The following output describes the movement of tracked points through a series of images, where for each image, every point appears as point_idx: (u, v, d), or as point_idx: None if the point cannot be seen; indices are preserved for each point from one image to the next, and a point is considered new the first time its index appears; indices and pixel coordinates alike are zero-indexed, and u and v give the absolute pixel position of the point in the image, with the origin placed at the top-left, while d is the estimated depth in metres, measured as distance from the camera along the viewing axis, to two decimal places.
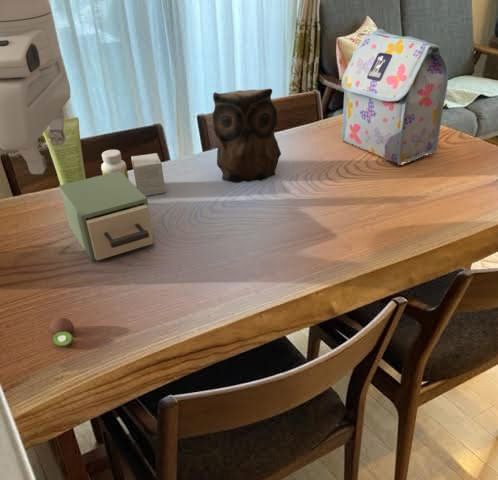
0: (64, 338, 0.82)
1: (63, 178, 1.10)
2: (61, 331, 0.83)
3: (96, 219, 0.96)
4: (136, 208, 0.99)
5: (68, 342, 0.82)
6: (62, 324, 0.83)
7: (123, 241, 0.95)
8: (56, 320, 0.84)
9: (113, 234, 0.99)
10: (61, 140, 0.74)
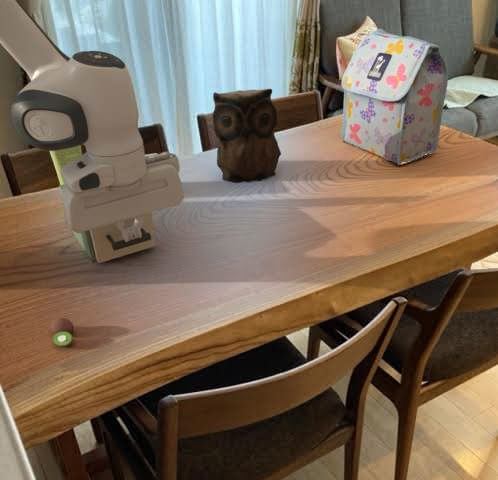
0: (64, 338, 0.82)
1: None
2: (61, 331, 0.83)
3: None
4: None
5: (68, 342, 0.82)
6: (62, 324, 0.83)
7: (125, 244, 0.94)
8: (56, 320, 0.84)
9: (115, 236, 0.98)
10: (134, 236, 0.94)
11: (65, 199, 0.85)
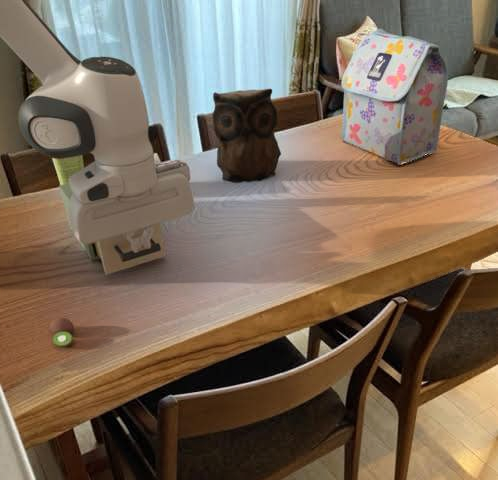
0: (64, 338, 0.82)
1: (63, 178, 1.10)
2: (61, 332, 0.83)
3: None
4: None
5: (68, 342, 0.82)
6: (62, 324, 0.83)
7: (134, 255, 0.92)
8: (56, 320, 0.84)
9: (123, 247, 0.95)
10: (143, 247, 0.91)
11: (73, 210, 0.82)
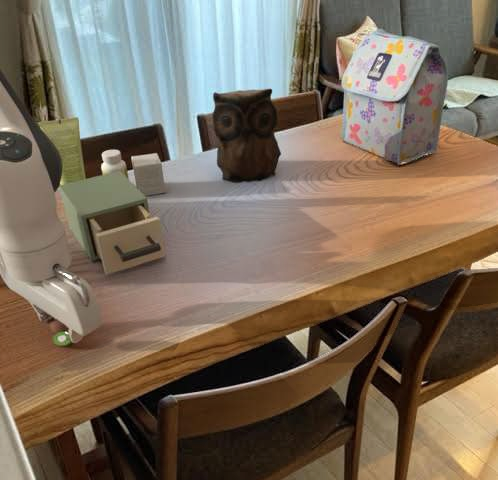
0: (65, 338, 0.82)
1: (63, 178, 1.10)
2: (61, 332, 0.83)
3: (106, 232, 0.92)
4: (147, 220, 0.95)
5: (68, 342, 0.82)
6: (62, 324, 0.83)
7: (134, 255, 0.92)
8: (56, 320, 0.84)
9: (123, 247, 0.95)
10: (68, 337, 0.81)
11: None
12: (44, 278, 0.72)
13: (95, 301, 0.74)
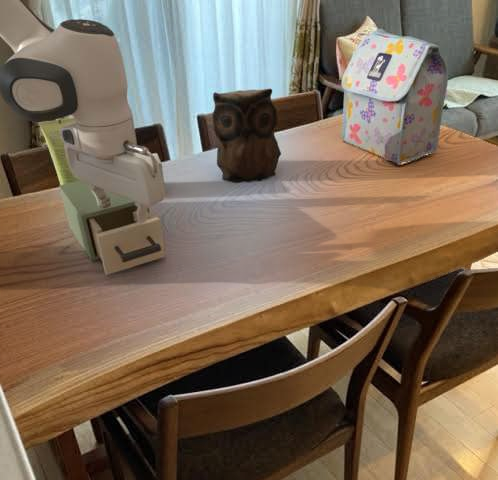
0: None
1: (63, 178, 1.10)
2: None
3: (106, 233, 0.92)
4: (147, 220, 0.95)
5: None
6: None
7: (134, 256, 0.92)
8: None
9: (124, 247, 0.95)
10: (135, 218, 0.92)
11: None
12: (116, 153, 0.84)
13: (160, 174, 0.85)
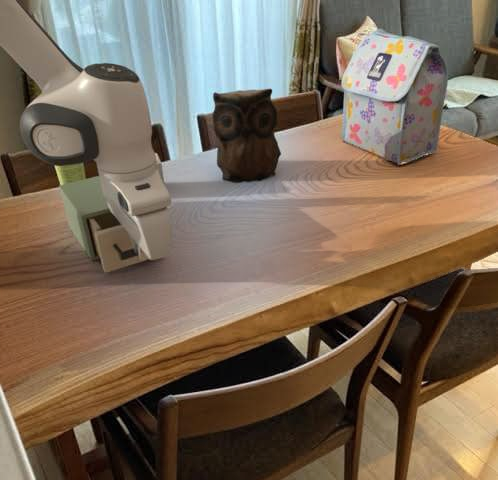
0: None
1: (63, 178, 1.10)
2: None
3: (105, 231, 0.93)
4: None
5: None
6: None
7: (132, 254, 0.92)
8: None
9: (122, 245, 0.95)
10: None
11: (158, 225, 0.79)
12: None
13: None
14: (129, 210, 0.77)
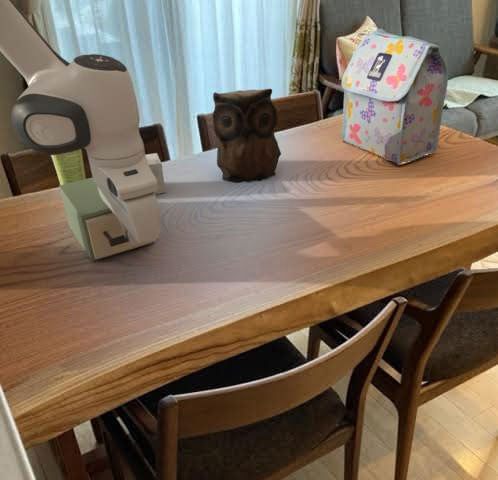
0: None
1: (63, 178, 1.10)
2: None
3: (95, 218, 0.96)
4: None
5: None
6: None
7: (122, 240, 0.96)
8: None
9: (112, 233, 0.99)
10: None
11: (145, 209, 0.82)
12: None
13: None
14: (118, 195, 0.80)
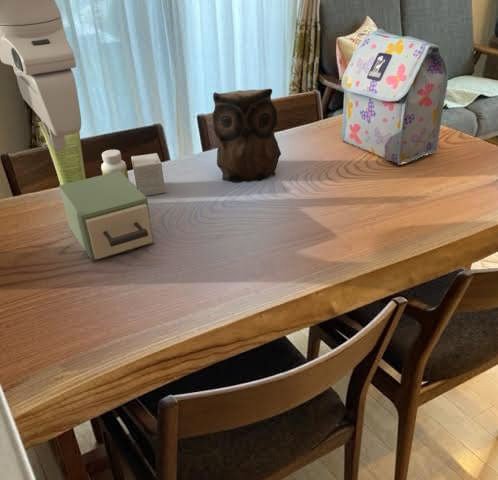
0: None
1: (63, 178, 1.10)
2: None
3: (95, 218, 0.96)
4: (135, 207, 0.99)
5: None
6: None
7: (122, 240, 0.96)
8: None
9: (112, 233, 0.99)
10: None
11: (60, 89, 0.67)
12: None
13: None
14: (23, 67, 0.65)
